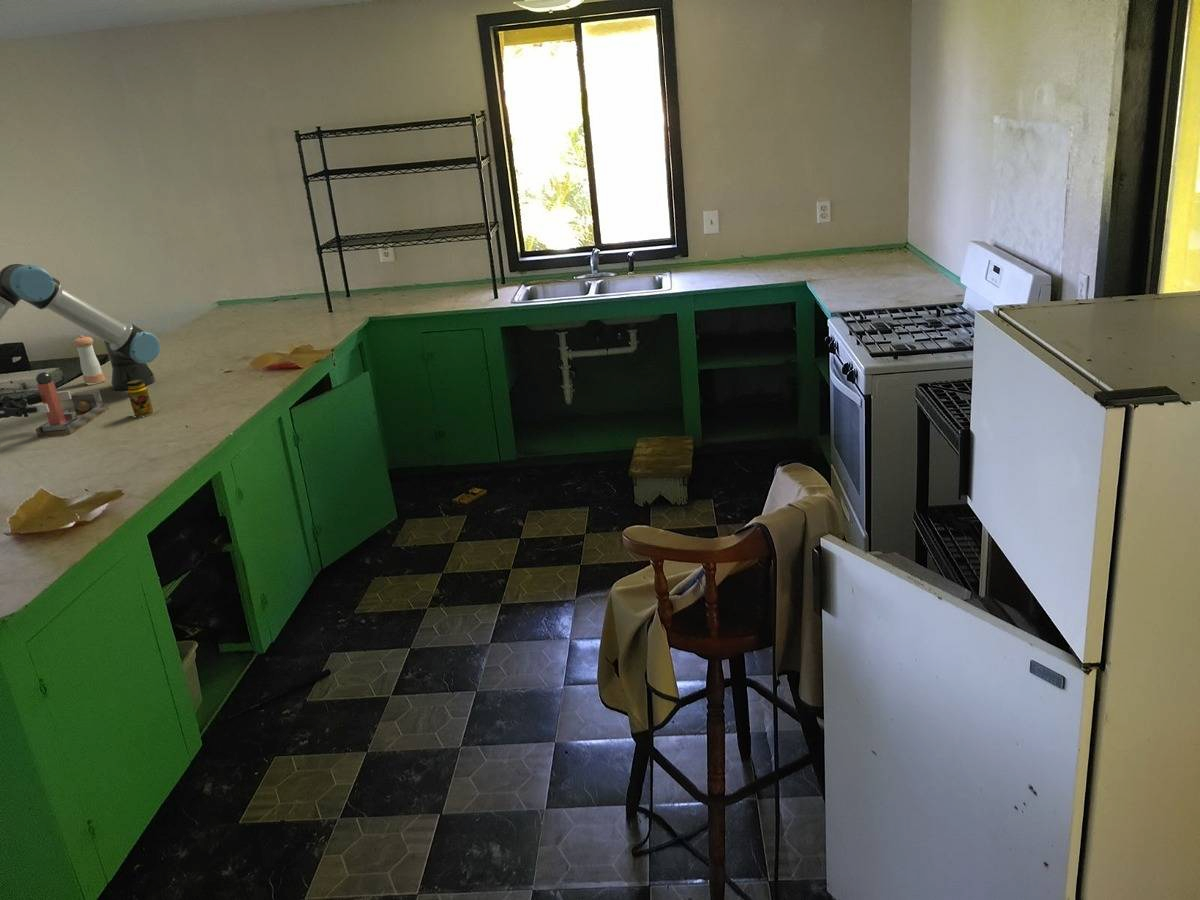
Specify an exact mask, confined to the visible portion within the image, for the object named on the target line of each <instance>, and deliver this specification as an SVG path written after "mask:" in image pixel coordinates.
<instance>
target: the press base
mask: <svg viewBox="0 0 1200 900" xmlns="http://www.w3.org/2000/svg"><path fill="white" fill-rule="evenodd" d="M70 395H71V398H72V399H71V400H72V405H73V407H74V410H73V411H71V409H66V410H64V411H63V413H65V412H75V413H76V416H77V419H76V420H75V421H73V422H72V423H70V424H69V425H67V426H65V427H66V429H65V430H55V431H44V432H43V429H42V427H43V426H44V425H46V424H48V423H49V420H47V421H46V422H45V423H44V424H42V425H40V426H38V427H37V428H35V434H36V435H37V438H43V437H44V438H45V436H47V437H57V436H56V435H58V436H64V435H63V434H69V435H72V434H73V433H75V432H76V431H75V430H77V429H78V430H80V429H81V428H83V427H84V426H85V424H86V423H87V424H89V423H90V422H92V421H93V420H95V419H96V418H98V417H99V416H101V415H102V414H104V413H105V412H107V411H108V410H110V409H109V406H108V405H105V406H104V403H103V399H102V396H101V395H102V394H101V392H100V390H98V389H97V390H87V391H85V390H84V391H76V392H75V393H73V394H70ZM106 410H107V411H106ZM103 412H104V413H103ZM101 413H102V414H101ZM100 414H101V415H100ZM98 415H99V416H98ZM97 416H98V417H97ZM95 417H96V418H95ZM94 418H95V419H94ZM92 419H93V420H92ZM91 420H92V421H91ZM89 421H90V422H89ZM88 422H89V423H88ZM87 424H86V425H87ZM83 425H84V426H83ZM82 426H83V427H82ZM80 427H81V428H80ZM79 428H80V429H79ZM78 430H77V431H78ZM74 431H75V432H74ZM72 432H73V433H72ZM71 433H72V434H71Z"/></svg>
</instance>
